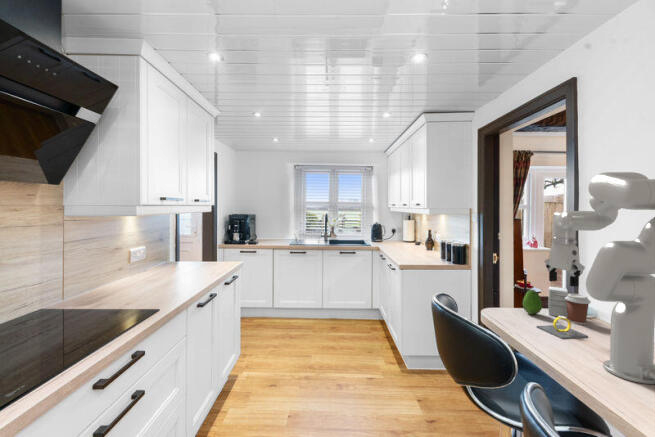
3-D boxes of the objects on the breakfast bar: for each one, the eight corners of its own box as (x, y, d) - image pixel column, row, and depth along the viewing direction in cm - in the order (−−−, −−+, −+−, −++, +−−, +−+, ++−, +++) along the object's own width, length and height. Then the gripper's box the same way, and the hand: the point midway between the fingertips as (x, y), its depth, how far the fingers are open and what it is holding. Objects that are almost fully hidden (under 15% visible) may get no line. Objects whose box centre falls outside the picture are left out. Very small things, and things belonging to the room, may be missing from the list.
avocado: (523, 315, 149) (524, 290, 149) (521, 310, 156) (521, 286, 156) (543, 317, 146) (544, 292, 145) (540, 312, 153) (541, 288, 152)
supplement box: (548, 311, 156) (548, 286, 155) (566, 314, 151) (567, 288, 151) (548, 315, 150) (548, 289, 149) (567, 318, 145) (568, 291, 145)
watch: (567, 330, 129) (568, 316, 129) (571, 333, 126) (573, 318, 126) (551, 328, 130) (552, 314, 130) (555, 331, 127) (556, 316, 127)
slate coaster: (588, 337, 123) (588, 335, 123) (561, 338, 122) (561, 337, 121) (561, 326, 135) (561, 324, 135) (536, 327, 133) (536, 325, 133)
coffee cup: (559, 319, 143) (560, 294, 143) (571, 317, 147) (571, 292, 146) (582, 326, 135) (583, 299, 134) (594, 323, 138) (595, 296, 138)
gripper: (592, 243, 119) (591, 288, 119) (553, 240, 136) (553, 279, 137) (575, 243, 118) (574, 288, 118) (538, 240, 135) (537, 279, 135)
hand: (563, 283), depth 127 cm, fingers open, 9 cm apart
